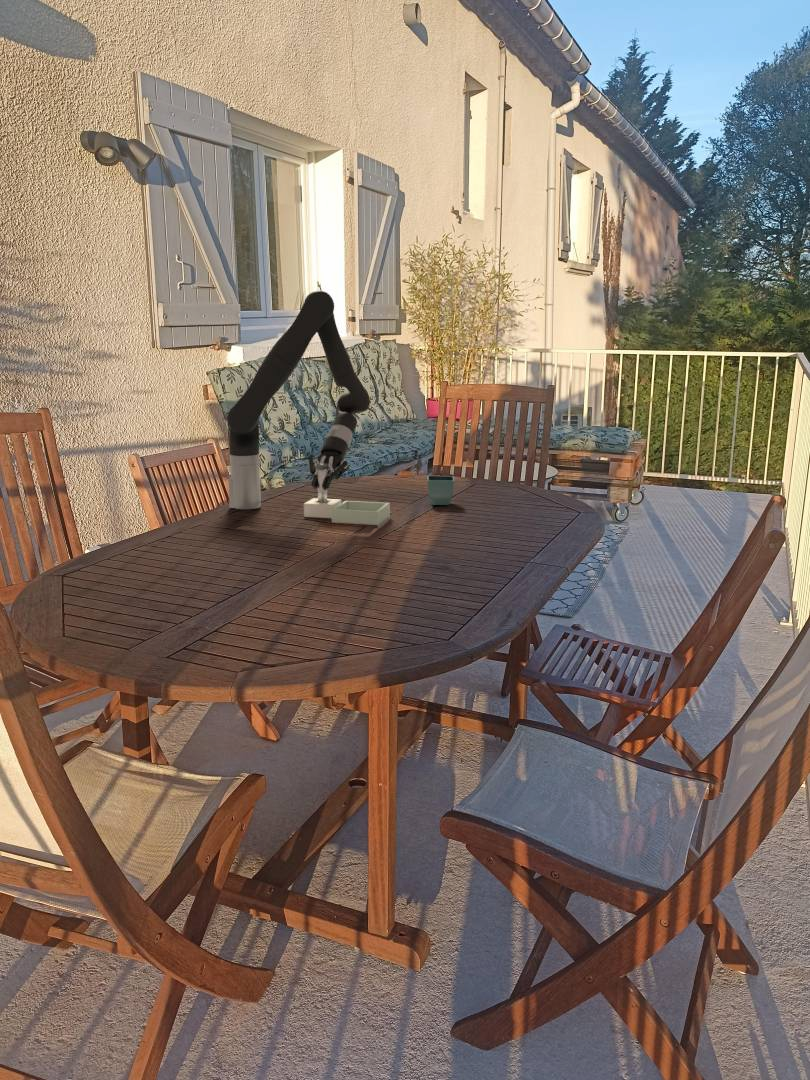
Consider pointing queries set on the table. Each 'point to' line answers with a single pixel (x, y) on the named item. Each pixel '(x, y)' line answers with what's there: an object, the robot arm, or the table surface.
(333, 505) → the socket block
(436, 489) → the flower pot
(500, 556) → the table surface
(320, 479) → the steel pin
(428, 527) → the table surface
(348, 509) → the tray
